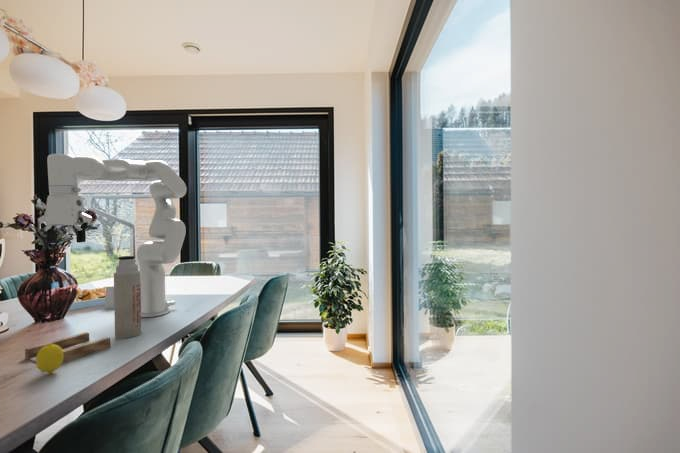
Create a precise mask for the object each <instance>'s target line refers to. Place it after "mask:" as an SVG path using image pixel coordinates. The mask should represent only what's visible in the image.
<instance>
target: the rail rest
mask: <svg viewBox="0 0 680 453" xmlns="http://www.w3.org/2000/svg"><path fill="white" fill-rule="evenodd" d="M111 342H112V340H111V337H102V338H99V339H97V340H90V333H89V332H88V331H87V332H82V333H78V334H74V335H69V336H67V337H63V338H59V339H56V340H52V341H47V342H44V343H42V344H37V345H33V346H30V347H25V348H24V359H25V360H30V361H32V362H33V363H36V357H37V354H38V352H39V351H40V350H41V349H42V348H43V347H44V346H46V345H48V344H49V343H52V344H55V345H58V346H60V347H61V349H62V351H63V355H64V357H63V362H62V364H63V363H66V362H70V361H72V360H77V359H79V358H82V357H85V356H88V355H92V354H93V353H94V354H95V353H97V352H101V351H104V350H107V349H110V348H111V347H112V345H111V344H112V343H111Z"/></svg>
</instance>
